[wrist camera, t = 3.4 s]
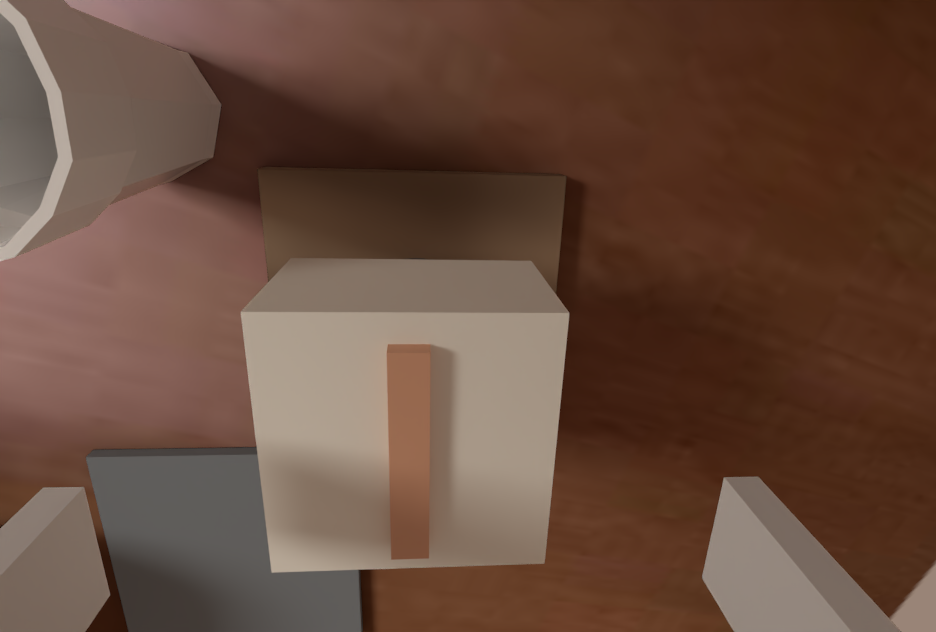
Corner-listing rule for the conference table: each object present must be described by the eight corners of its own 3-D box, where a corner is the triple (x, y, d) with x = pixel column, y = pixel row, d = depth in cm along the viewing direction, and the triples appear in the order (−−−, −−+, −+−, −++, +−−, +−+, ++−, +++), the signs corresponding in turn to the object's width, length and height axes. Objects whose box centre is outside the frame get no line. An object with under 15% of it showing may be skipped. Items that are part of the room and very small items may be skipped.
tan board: (264, 166, 22) (143, 205, 12) (560, 173, 23) (656, 215, 13) (288, 428, 26) (212, 606, 17) (539, 425, 27) (600, 591, 17)
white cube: (291, 258, 17) (233, 319, 12) (531, 260, 18) (574, 320, 13) (307, 464, 20) (266, 587, 15) (516, 459, 20) (548, 577, 15)
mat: (93, 449, 25) (85, 457, 25) (354, 445, 26) (352, 452, 26) (138, 639, 30) (132, 649, 29) (362, 630, 31) (361, 639, 30)
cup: (258, 190, 22) (114, 256, 12) (91, 207, 22) (-206, 289, 12) (217, 5, 20) (-6, -115, 9) (30, 21, 20) (-409, -84, 9)
